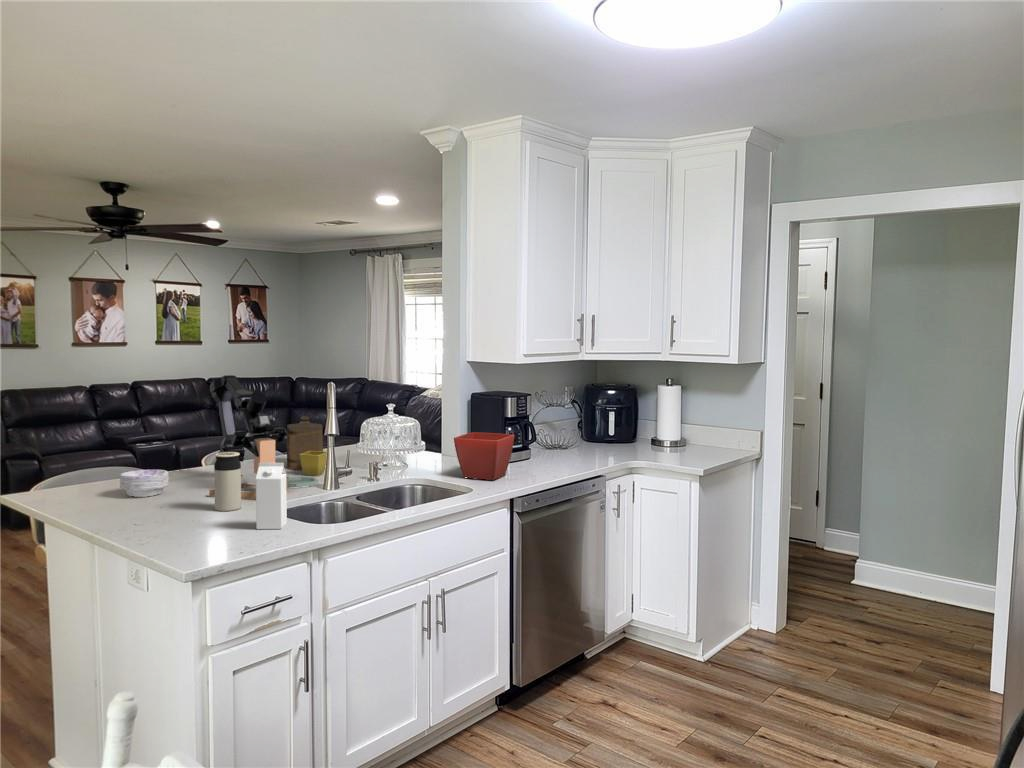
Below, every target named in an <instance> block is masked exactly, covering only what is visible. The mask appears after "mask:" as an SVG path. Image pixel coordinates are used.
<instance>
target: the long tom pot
mask: <svg viewBox="0 0 1024 768" xmlns="http://www.w3.org/2000/svg"><path fill="white" fill-rule="evenodd" d="M254 443H255V445H256V448H257V450H258V454H259V456H258V457H257V456H255V455H254V454H253V473H254V474H256V475H257V472H258V468H259V463H277V462H276V446H275V440H273V439H271V438H259V439H255V440H254Z"/></svg>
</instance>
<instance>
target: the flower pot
mask: <svg viewBox="0 0 1024 768" xmlns="http://www.w3.org/2000/svg"><path fill="white" fill-rule="evenodd" d="M327 452H328V451H324V450H323V451H307V452H305V453H302V454H300V461H301V467H302V470H301V471H303V474H304V475H305V476H312V475H315V477H317V475H318V476H320V475H322V473H323V474H324V472H325V471H324V470H326V469H325V465H326V455H327Z"/></svg>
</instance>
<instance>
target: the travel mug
mask: <svg viewBox="0 0 1024 768" xmlns="http://www.w3.org/2000/svg"><path fill="white" fill-rule="evenodd" d="M239 455H240V453H238V452H222V453H219V452H217V453H215V454H214V456H215V459H216V460H215V462H214V464H213V468H214V470H213V472H214V474H213V475H214V477H213V478H214V483H213V484H214V489H215V497H214V509H215V511H218V512H233V511H238V510H239V509H241V508H242V499H241V488H242V487H241V483H242V477H241V475H242V468H241V467H242V465H241V462H240V461H239V459H238V458H239Z"/></svg>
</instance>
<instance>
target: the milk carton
mask: <svg viewBox="0 0 1024 768" xmlns="http://www.w3.org/2000/svg"><path fill="white" fill-rule="evenodd" d="M284 466H285V463H284V462H276V463H259V468H258V472H257V474H256V477H255V485H256V487H255V488H256V500H255V509H256V510H255V512H256V514H255V515H256V516H255V518H256V521H255V523H256V524H255V525H256V528H255V529H256V530H281V529H283V528H284V527H285V525H286V524H287V523H288V522H287V519H288V517H287V509H288V508H287V501H288V500H287V489H286V477H287V472H286V469H285V467H284Z"/></svg>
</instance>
